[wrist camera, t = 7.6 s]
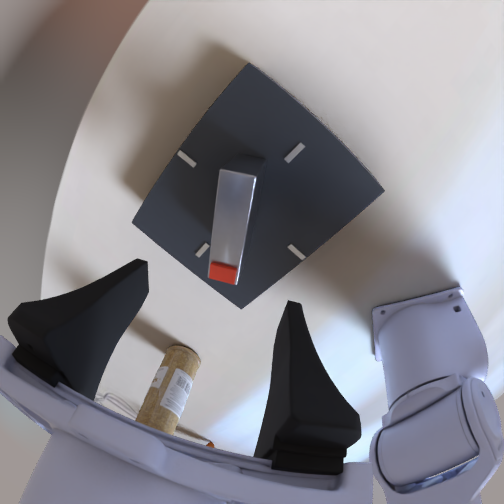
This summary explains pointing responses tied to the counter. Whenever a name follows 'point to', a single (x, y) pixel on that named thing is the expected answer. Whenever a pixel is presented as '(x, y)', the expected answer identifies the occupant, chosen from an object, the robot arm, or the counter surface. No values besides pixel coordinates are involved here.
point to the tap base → (273, 186)
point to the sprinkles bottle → (169, 390)
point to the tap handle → (235, 216)
